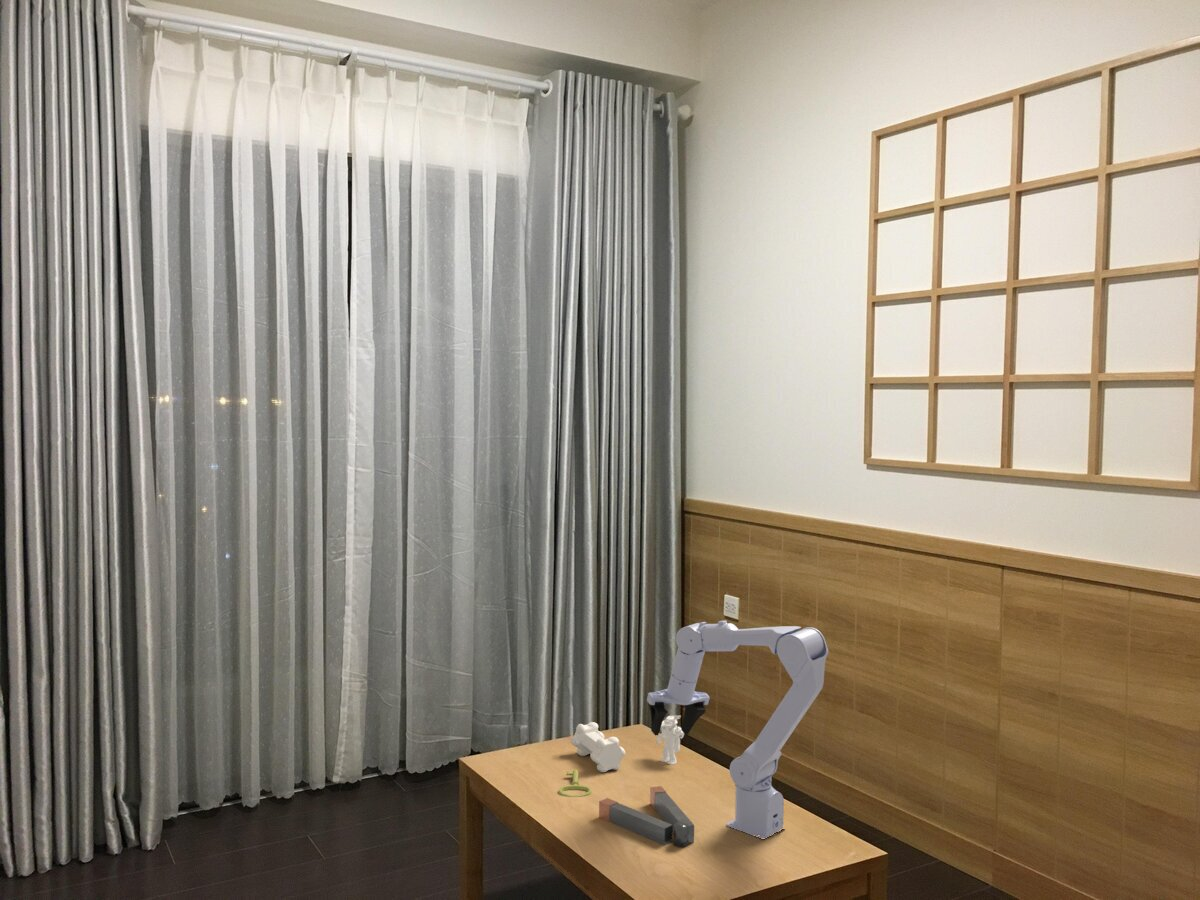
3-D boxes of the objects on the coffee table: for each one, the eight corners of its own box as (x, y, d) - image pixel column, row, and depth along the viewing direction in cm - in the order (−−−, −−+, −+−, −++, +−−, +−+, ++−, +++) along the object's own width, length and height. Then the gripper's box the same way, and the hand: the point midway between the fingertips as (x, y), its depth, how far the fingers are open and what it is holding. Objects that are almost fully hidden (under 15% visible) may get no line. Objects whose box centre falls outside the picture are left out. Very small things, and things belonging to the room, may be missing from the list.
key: (577, 777, 225) (577, 768, 225) (594, 798, 214) (594, 788, 214) (547, 781, 223) (547, 772, 223) (563, 802, 211) (563, 792, 211)
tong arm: (696, 845, 189) (697, 826, 189) (676, 847, 188) (677, 828, 188) (661, 802, 210) (661, 785, 210) (642, 804, 209) (643, 787, 209)
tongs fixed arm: (672, 842, 191) (672, 824, 191) (664, 846, 189) (664, 828, 189) (607, 814, 204) (607, 797, 204) (599, 818, 202) (599, 801, 202)
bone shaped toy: (570, 756, 240) (567, 725, 239) (601, 748, 243) (599, 717, 243) (595, 777, 226) (593, 744, 225) (628, 768, 230) (626, 735, 229)
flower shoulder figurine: (687, 765, 233) (688, 716, 232) (675, 768, 230) (675, 719, 230) (662, 754, 240) (663, 706, 239) (650, 757, 237) (651, 709, 237)
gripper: (703, 668, 215) (689, 722, 218) (647, 667, 209) (632, 723, 211) (719, 683, 209) (704, 739, 212) (661, 683, 202) (646, 740, 205)
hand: (669, 732), depth 211 cm, fingers open, 7 cm apart
